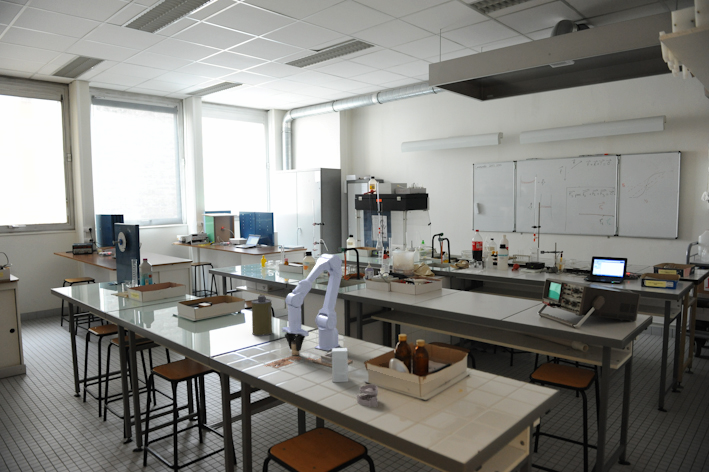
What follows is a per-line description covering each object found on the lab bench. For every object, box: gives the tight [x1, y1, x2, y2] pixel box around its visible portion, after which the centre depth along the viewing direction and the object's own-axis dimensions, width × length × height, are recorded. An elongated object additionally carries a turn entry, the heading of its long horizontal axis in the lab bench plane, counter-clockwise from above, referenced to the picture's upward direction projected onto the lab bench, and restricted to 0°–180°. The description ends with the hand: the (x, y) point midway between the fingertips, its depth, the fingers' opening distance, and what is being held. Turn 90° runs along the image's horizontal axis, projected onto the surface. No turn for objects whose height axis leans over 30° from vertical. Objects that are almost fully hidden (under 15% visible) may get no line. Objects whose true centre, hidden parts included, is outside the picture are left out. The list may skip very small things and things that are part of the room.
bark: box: [262, 355, 316, 369], centre depth 200 cm, size 22×12×1 cm, turn 139°
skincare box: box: [331, 347, 349, 383], centre depth 180 cm, size 6×4×12 cm
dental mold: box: [356, 383, 379, 408], centre depth 160 cm, size 8×7×5 cm
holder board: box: [311, 351, 353, 368], centre depth 200 cm, size 10×14×3 cm
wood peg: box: [290, 340, 300, 356], centre depth 211 cm, size 4×4×6 cm
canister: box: [251, 294, 273, 337], centre depth 247 cm, size 11×10×20 cm
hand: (295, 349), depth 211 cm, fingers closed on wood peg, 3 cm apart
